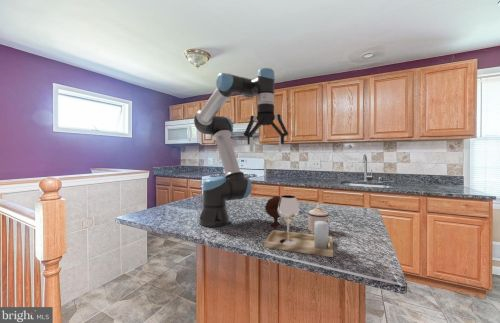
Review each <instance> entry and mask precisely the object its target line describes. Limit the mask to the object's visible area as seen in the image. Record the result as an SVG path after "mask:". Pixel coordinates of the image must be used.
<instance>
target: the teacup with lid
mask: <svg viewBox="0 0 500 323" xmlns="http://www.w3.org/2000/svg"><path fill="white" fill-rule="evenodd" d="M307 214H308V218H307V219H308V223H307V225H308V226H307V227H308V230H309V231H310V232H313V233H314V223H315V222H316V221H324V222H327V223H329V216H330V215H329V212H328V211H326V210H324V209H322V207H321V206H319V205H318V206H316V207H315V208H314V209H309V210H308V212H307Z"/></svg>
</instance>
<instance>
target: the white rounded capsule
mask: <svg viewBox="0 0 500 323" xmlns="http://www.w3.org/2000/svg"><path fill="white" fill-rule="evenodd" d="M329 224H330V223H329V222H328V223H327V222H324V221H316V222H315V223H314V232H313V235H314V247H315V248H319V249H326V250H327V249H328V237H329V232H330V230H329V228H330V226H329Z"/></svg>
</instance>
